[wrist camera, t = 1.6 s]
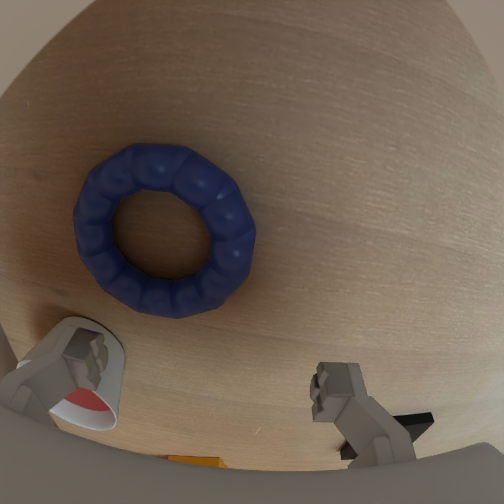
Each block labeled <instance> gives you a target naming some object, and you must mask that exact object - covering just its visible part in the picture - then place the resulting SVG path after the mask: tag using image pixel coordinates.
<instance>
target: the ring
mask: <svg viewBox="0 0 504 504" xmlns="http://www.w3.org/2000/svg"><path fill="white" fill-rule="evenodd" d="M140 190H152V191H163V192H171V193H172V194H174V195H175V196H177V197H178V198H180V199H181V200H183V201H184V202H186V203H187V204H189V205H190V206H191V207H193V208H194V209H196V210H197V211H198V213H199V215H200V217H201V219H202V221H203V222H204V224H205V226H206V228H207V230H208V232H209V234H210V249H209V258H208V260H207V261H206V262H205V263H204V265H203V266H202V267H201V268H200V269H199V271H198V272H197V273H196V274H193V275H190V276H187V277H184V278H181V279H178V280H168V279H161V278H155V277H149V276H148V275H146V274H145V273H143V272H142V271H140V270H139V269H137V268H135V267H134V266H132V265H131V264H129V263H128V262H127V261H126V259H125V258H124V256H123V255H122V253H121V251H120V250H119V248H118V247H117V245H116V244H115V242H114V239H113V228H112V217H113V215H114V213H115V211H116V209H117V207H118V205H119V203H120V201H121V200H122V199H124V198H126V197H128V196H130V195H132V194H134V193H136V192H138V191H140ZM73 222H74V229H75V236H76V243H77V249H78V253H79V256H80V258H81V260H82V261H83V263H84V264H85V266H86V267H87V269H88V270H89V271H90V273H91V274H92V276H93V277H94V279H95V280H96V281H97V283H98V284H99V286H100V287H101V288H102V289H103V290H104V291H105V292H106V293H108V294H110V295H111V296H113V297H114V298H116V299H117V300H119V301H120V302H122V303H124V304H125V305H127V306H128V307H130V308H132V309H133V310H135V311H137V312H140V313H145V314H150V315H156V316H162V317H168V318H174V319H180V318H185V317H188V316H192V315H196V314H199V313H203V312H206V311H210V310H213V309H216V308H218V307H219V306H221V305H222V304H223V303H224V302H225V301H226V300H227V299H228V298H229V297H230V296H231V295H232V293H233V292H234V291H235V290H236V289H237V288H238V287H239V286H240V285H241V284H242V283H243V282H244V281H245V280H246V278H247V277H248V275H249V272H250V268H251V261H252V255H253V248H254V242H255V235H256V228H255V223H254V221H253V219H252V216H251V214H250V212H249V210H248V208H247V205H246V203H245V201H244V199H243V197H242V195H241V192H240V190H239V188H238V186H237V184H236V182H235V180H234V179H233V178H232V177H231V176H229V175H228V174H227V173H225V172H224V171H223V170H221V169H220V168H218V167H217V166H216V165H214V164H213V163H211V162H210V161H208V160H207V159H206V158H204V157H203V156H201V155H200V154H198V153H197V152H195V151H194V150H192V149H190V148H188V147H185V146H174V145H160V144H142V143H137V144H133V145H130V146H128V147H126V148H125V149H123V150H121V151H119V152H118V153H116V154H114V155H113V156H111V157H109V158H108V159H106V160H104V161H103V162H101V163H100V164H98V165H96V166H95V167H94V168H93V169H92V170H91V171H90V172H89V174H88V176H87V178H86V181H85V183H84V185H83V187H82V190H81V192H80V194H79V197H78V199H77V201H76V204H75V206H74V209H73Z"/></svg>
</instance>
